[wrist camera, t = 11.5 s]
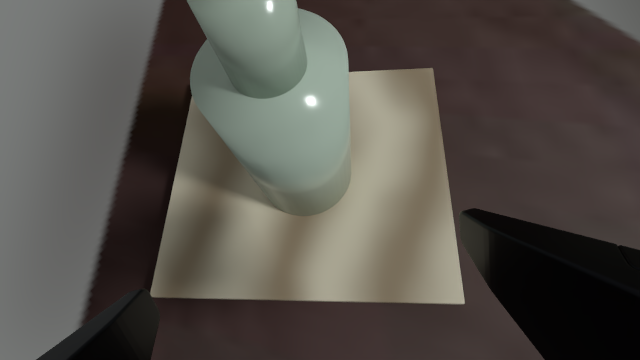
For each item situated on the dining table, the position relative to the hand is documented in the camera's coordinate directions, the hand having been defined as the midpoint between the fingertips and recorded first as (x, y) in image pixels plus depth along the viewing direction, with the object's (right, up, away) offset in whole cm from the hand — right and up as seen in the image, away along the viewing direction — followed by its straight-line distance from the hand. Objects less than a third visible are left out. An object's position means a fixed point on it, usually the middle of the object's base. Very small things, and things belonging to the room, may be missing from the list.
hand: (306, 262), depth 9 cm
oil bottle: (-1, +3, +12) cm, 13 cm away
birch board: (0, +2, +13) cm, 14 cm away
